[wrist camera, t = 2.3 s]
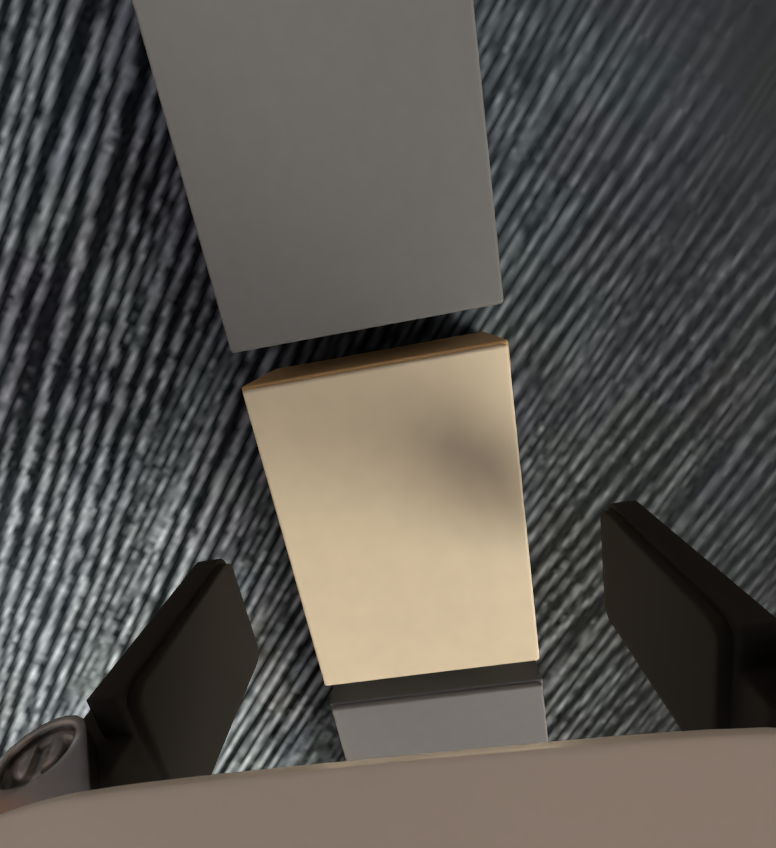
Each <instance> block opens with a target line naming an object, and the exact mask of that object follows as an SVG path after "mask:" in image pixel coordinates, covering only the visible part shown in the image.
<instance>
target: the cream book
mask: <svg viewBox="0 0 776 848" xmlns="http://www.w3.org/2000/svg"><path fill="white" fill-rule="evenodd" d="M510 368H511V364H510V354H509V344H508V341H507V340H506V339H503V338H500V337H497V336H494V335H491V334H488V333H485V332H477V333H472V334H466V335H461V336H455V337H450V338H444V339H439V340H433V341H427V342H422V343H416V344H411V345H405V346H400V347H394V348H389V349H383V350H378V351H372V352H367V353H361V354H355V355H350V356H344V357H339V358H333V359H328V360H322V361H317V362H311V363H306V364H300V365H295V366H289V367H283V368H278V369H275V370H273V371H271V372H269V373H267V374H266V375H264V376H262V377H260V378H258V379H256V380H254V381H252V382H251V383H249V384H247V385H245V386H243V387H242V392H243V396H244V399H245V403H246V407H247V410H248V414H249V417H250V421H251V424H252V428H253V431H254V435H255V439H256V442H257V446H258V449H259V453H260V456H261V460H262V463H263V467H264V470H265V474H266V478H267V481H268V485H269V488H270V492H271V495H272V499H273V502H274V506H275V510H276V513H277V517H278V520H279V524H280V527H281V531H282V534H283V538H284V542H285V545H286V549H287V552H288V556H289V559H290V563H291V566H292V570H293V574H294V577H295V581H296V584H297V588H298V591H299V595H300V598H301V602H302V605H303V609H304V613H305V616H306V620H307V623H308V627H309V630H310V634H311V637H312V641H313V645H314V648H315V652H316V655H317V659H318V662H319V666H320V669H321V673H322V677H323V680H324V684H325V685H327V686H328V685H336V684H344V683H352V682H361V681H369V680H377V679H385V678H394V677H402V676H410V675H418V674H426V673H435V672H443V671H451V670H459V669H467V668H476V667H484V666H492V665H500V664H509V663H517V662H525V661H533V660H538V659H539V648H538V638H537V628H536V618H535V608H534V598H533V588H532V579H531V569H530V559H529V549H528V539H527V529H526V519H525V509H524V500H523V490H522V480H521V470H520V460H519V450H518V440H517V430H516V421H515V411H514V401H513V391H512V381H511V371H510Z"/></svg>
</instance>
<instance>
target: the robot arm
mask: <svg viewBox="0 0 776 848" xmlns="http://www.w3.org/2000/svg"><path fill="white" fill-rule="evenodd" d="M600 519H601V538H602V558H603V578H604V598H605V608H606V612H607V615H608V617H609V619H610V621H611V623H612V624H613V626H614V627H615V629H616V631H617V632H618V634H619V635H620V637H621V638H622V640H623V641H624V643H625V644H626V646H627V647H628V649H629V650H630V652H631V654H632V655H633V657H634V658H635V660H636V661H637V663H638V664H639V666H640V667H641V669H642V670H643V672H644V673H645V675H646V676H647V678H648V680H649V681H650V683H651V684H652V686H653V687H654V689H655V690H656V692H657V693H658V695H659V696H660V698H661V699H662V701H663V703H664V704H665V706H666V707H667V709H668V710H669V712H670V713H671V715H672V716H673V718H674V719H675V721H676V722H677V724H678V725H679V727H680V729H681V730H682V731H677V732H664V733H651V734H637V735H623V736H611V737H600V738H589V739H577V740H566V741H555V742H544V743H533V744H522V745H510V746H499V747H488V748H477V749H466V750H456V751H445V752H435V753H424V754H414V755H403V756H393V757H383V758H372V759H362V760H352V761H342V762H331V763H321V764H311V765H301V766H292V767H282V768H272V769H263V770H253V771H243V772H233V773H224V774H214V775H211V774H212V771H213V769H214V766H215V764H216V762H217V759H218V757H219V754H220V752H221V749H222V747H223V745H224V742H225V740H226V737H227V735H228V732H229V730H230V728H231V725H232V723H233V720H234V718H235V715H236V713H237V711H238V708H239V706H240V703H241V701H242V698H243V696H244V694H245V691H246V689H247V686H248V684H249V681H250V679H251V677H252V674H253V672H254V669H255V667H256V664H257V661H258V646H257V642H256V639H255V636H254V633H253V630H252V627H251V624H250V621H249V618H248V614H247V611H246V608H245V605H244V602H243V599H242V596H241V593H240V590H239V586H238V583H237V580H236V577H235V574H234V571H233V568H232V566H231V565H230V564H226V563H225V561H224V560H222V559H216V560H209V561H202V562H198V563H197V564H196V565H195V566H194V568H193V569H192V570H191V571H190V572H189V574H188V575H187V576H186V577H185V579H184V580H183V581H182V582H181V584H180V585H179V586H178V587H177V589H176V590H175V591H174V592H173V594H172V595H171V596H170V597H169V599H168V600H167V601H166V602H165V604H164V605H163V606H162V607H161V609H160V610H159V611H158V612H157V614H156V615H155V616H154V617H153V618H152V620H151V621H150V622H149V623H148V625H147V626H146V627H145V628H144V630H143V631H142V632H141V633H140V635H139V636H138V637H137V638H136V640H135V641H134V642H133V643H132V645H131V646H130V647H129V648H128V650H127V651H126V652H125V653H124V655H123V656H122V657H121V658H120V660H119V661H118V662H117V663H116V664H115V666H114V667H113V668H112V669H111V671H110V672H109V673H108V674H107V676H106V677H105V678H104V679H103V681H102V682H101V683H100V684H99V686H98V687H97V688H96V689H95V691H94V692H93V693H92V694H91V696H90V697H89V698H88V699H87V703H88V705H89V707H90V709H91V710H90V711H89V713H88V714H87V715H86V716H85V718H84V719H83V718H81V717H79V716H77V715H74V716H64V717H60V718H57V719H54V720H52V721H50V722H48V723H45V724H43V725H41V726H39V727H38V728H36V729H35V730H33V731H32V732H30V733H29V734H27V735H25V736H24V737H23V738H22V739H20V740H19V741H18V742H17V743H16V744H14V745H13V746H12V747H11V748H10V749H9V750H8V751H7V752H6V753H5V754H4V755H3V756H2V757H1V758H0V848H776V618H775V617H774V616H773V615H772V614H770V613H769V612H768V611H767V610H766V609H764V608H763V607H762V606H761V605H760V604H759V603H757V602H756V601H755V600H754V599H753V598H751V597H750V596H749V595H748V594H747V593H745V592H744V591H743V590H742V589H741V588H739V587H738V586H737V585H736V584H735V583H734V582H732V581H731V580H730V579H729V578H728V577H726V576H725V575H724V574H723V573H722V572H720V571H719V570H718V569H717V568H716V567H715V566H713V565H712V564H711V563H710V562H709V561H707V560H706V559H705V558H704V557H703V556H701V555H700V554H699V553H698V552H696V551H695V550H694V549H693V548H692V547H690V546H689V545H688V544H687V543H686V542H684V541H683V540H682V539H681V538H680V537H679V536H677V535H676V534H675V533H674V532H673V531H671V530H670V529H669V528H668V527H667V526H665V525H664V524H663V523H662V522H661V521H660V520H658V519H657V518H656V517H655V516H654V515H652V514H651V513H650V512H649V511H648V510H646V509H645V508H644V507H643V506H642V505H641V504H639V503H638V502H637V501H626V502H619V503H612V504H609V505H608V507H607V510H606V511H602V512H601V517H600Z"/></svg>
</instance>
